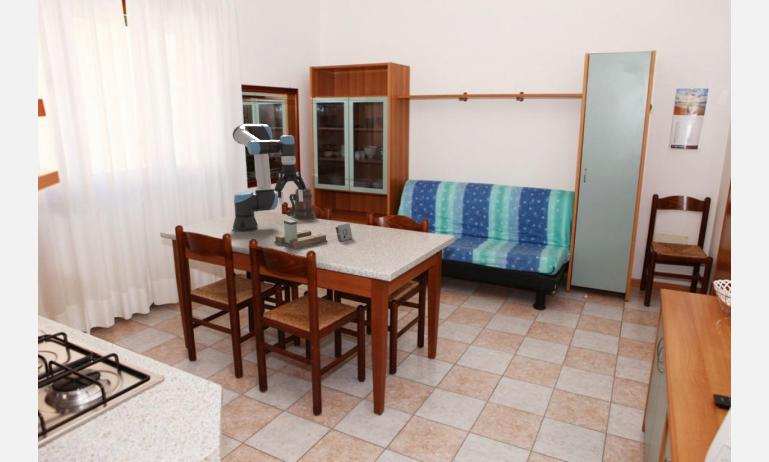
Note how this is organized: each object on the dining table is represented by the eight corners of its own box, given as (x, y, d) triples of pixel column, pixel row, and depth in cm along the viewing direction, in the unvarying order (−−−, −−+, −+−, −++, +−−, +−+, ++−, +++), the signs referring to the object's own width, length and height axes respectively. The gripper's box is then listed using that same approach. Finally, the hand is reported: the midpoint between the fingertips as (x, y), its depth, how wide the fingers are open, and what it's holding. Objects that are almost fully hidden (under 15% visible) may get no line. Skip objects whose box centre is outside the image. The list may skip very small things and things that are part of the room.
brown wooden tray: (274, 242, 279) (274, 235, 278) (304, 235, 295) (304, 229, 294) (296, 249, 266) (296, 241, 265) (327, 242, 282) (327, 234, 281)
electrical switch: (341, 241, 284) (340, 225, 282) (335, 240, 287) (334, 225, 285) (352, 238, 291) (351, 223, 289) (346, 238, 294) (345, 222, 292)
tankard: (304, 213, 359) (303, 186, 354) (320, 216, 349) (320, 188, 345) (279, 218, 341) (278, 189, 336) (296, 222, 331) (295, 192, 326)
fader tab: (284, 242, 276) (283, 220, 273) (290, 240, 279) (290, 219, 276) (291, 244, 272) (290, 222, 269) (297, 242, 275) (297, 221, 272)
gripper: (274, 165, 259) (277, 205, 263) (310, 163, 278) (313, 200, 281) (265, 165, 264) (268, 204, 268) (302, 163, 283) (304, 200, 286)
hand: (291, 202), depth 274 cm, fingers open, 13 cm apart
